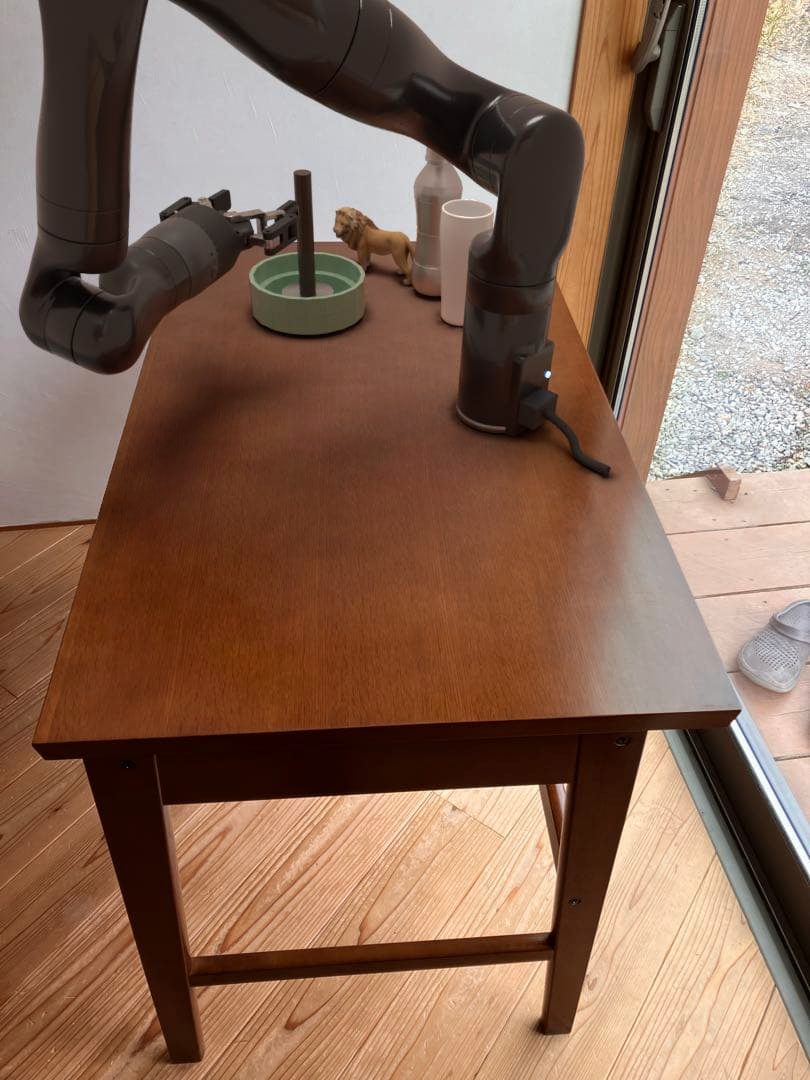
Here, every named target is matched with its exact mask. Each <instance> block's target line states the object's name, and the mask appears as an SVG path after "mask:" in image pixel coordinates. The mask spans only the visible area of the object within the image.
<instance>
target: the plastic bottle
mask: <svg viewBox="0 0 810 1080" xmlns="http://www.w3.org/2000/svg"><path fill="white" fill-rule="evenodd" d="M424 160H425V161H426V163H425V165H424V167H423V168H421V170H420V171H419V173H418V174H417V176H416V178H415V180H414V183H413V197H414V208H415V218H416V220H415V221H416V223H415V224H416V237H415V238H416V240H415V246H414V247H415V248H414V254H415V256H414V260H413V262H412V265H411V278H412V283H411V284H412V286H413V287H414V289H415V290H416V292H418V293H419V294H420V295H425V296H429V297H441V274H440V219H441V210H442V206H443V205H444V204H445V203H446V202H449V201H452V200H458V199H463V198H462V196H463V191H464V187H463V182H462V180H461V177H460V175H459V173H458V172H457V170H456V167H455V166H453V165H452V164H451V163H449V162H448V161H447V160H445V159H444V158H443V157H441V156H440V155H438V154H437V153H435V152H434V151H432V150H431V149H429V148H428V147H426V146H425V155H424Z"/></svg>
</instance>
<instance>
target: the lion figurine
mask: <svg viewBox="0 0 810 1080" xmlns="http://www.w3.org/2000/svg"><path fill="white" fill-rule="evenodd" d="M334 212H335V216H334V217H335V218H334V226H333V227H332V231H333V233H334V234H335V238H336V239H340V240H341V241H342V242H344V243H345V244H347V247H348V249H350V250H351V251H356V252H357V254H356V255H357V259H358V262H359V265H360V266H361V267H362V268H363V270H364V273H365V272H366V270H367V267H369V266H370V264H371V256H372V254H375V255H377V256H389V255H391V256H392V259H393V260H394V263H395V264H396V266H398V269H397V271H396V273H397V274H398V275H405V276H406V278H403V281H402V282H403V285H405V286H410V285H411V284H412V278H411V270H412V268H411V267H410V266H409V263H408V259H409V257H410V259H411V263H413V260H414V256H415V249H414V248H413V244H412V242H411V240H410V238H409V236H408V235H407V234H405V233H404V232H402V231H392V230H391V231H390V230H384V229H381V228H379V227H378V226H377V225H376V224H375V223H374V221H373V220H372V219H371V218H370V217H368V215H364V213H363V212H362V211H360V210H358V209H355V208H354V207H350V206H343V207H340V208H338V209H337V210H335V211H334Z"/></svg>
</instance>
